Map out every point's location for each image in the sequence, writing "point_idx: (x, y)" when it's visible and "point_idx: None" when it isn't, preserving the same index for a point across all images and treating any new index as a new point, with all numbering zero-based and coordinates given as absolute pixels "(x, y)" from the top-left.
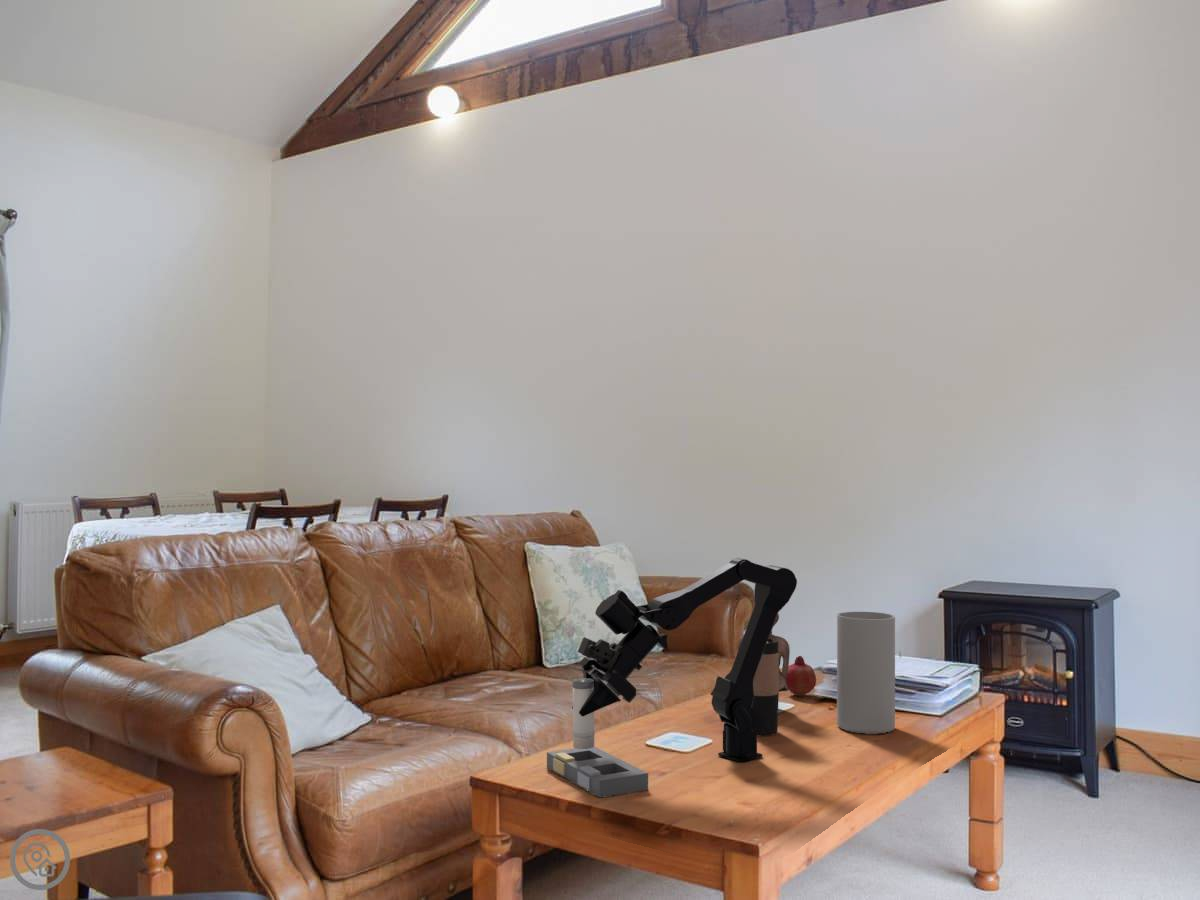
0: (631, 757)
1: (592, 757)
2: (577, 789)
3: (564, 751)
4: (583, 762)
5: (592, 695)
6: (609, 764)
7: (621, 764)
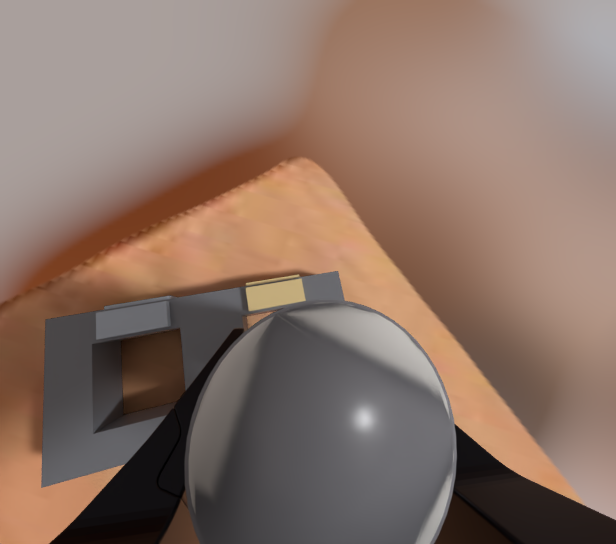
0: None
1: None
2: (166, 293)
3: None
4: (226, 328)
5: (150, 441)
6: None
7: None
